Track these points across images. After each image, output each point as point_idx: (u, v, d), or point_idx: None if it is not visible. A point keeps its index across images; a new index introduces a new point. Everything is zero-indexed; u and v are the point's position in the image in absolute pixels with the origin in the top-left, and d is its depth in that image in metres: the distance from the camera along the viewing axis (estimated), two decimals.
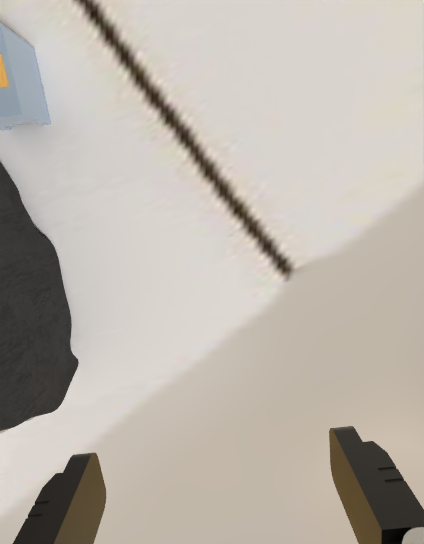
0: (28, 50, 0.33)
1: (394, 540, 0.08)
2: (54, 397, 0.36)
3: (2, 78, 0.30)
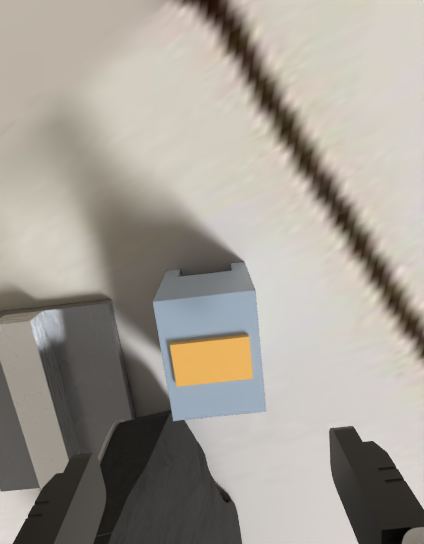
0: None
1: (394, 540, 0.08)
2: None
3: (246, 369, 0.18)
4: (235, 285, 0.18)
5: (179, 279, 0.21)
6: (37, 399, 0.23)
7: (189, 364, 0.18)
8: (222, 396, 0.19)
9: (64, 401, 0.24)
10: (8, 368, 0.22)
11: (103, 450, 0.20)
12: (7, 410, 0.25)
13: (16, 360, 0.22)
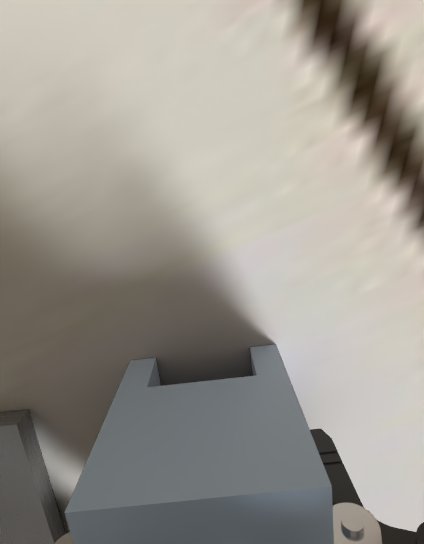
0: None
1: None
2: None
3: None
4: (272, 447, 0.08)
5: (148, 399, 0.10)
6: None
7: None
8: None
9: None
10: None
11: None
12: None
13: None
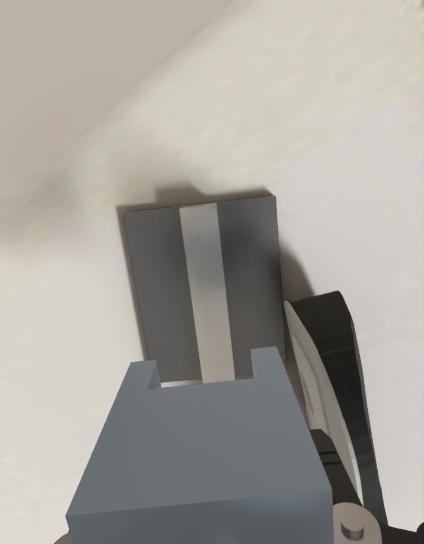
0: None
1: None
2: None
3: None
4: (272, 450, 0.08)
5: (149, 401, 0.10)
6: (211, 282, 0.25)
7: None
8: None
9: (225, 291, 0.27)
10: (189, 251, 0.24)
11: (295, 312, 0.22)
12: (170, 301, 0.27)
13: (198, 243, 0.24)
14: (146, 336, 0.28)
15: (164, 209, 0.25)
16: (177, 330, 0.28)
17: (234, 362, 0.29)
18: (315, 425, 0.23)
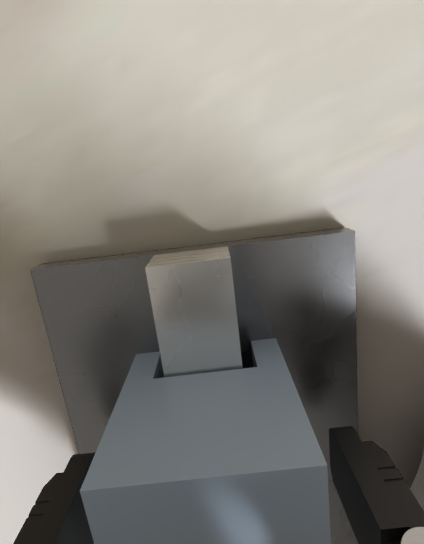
0: None
1: (393, 540, 0.08)
2: None
3: None
4: (272, 431, 0.08)
5: (154, 389, 0.10)
6: None
7: None
8: None
9: None
10: (171, 356, 0.11)
11: None
12: None
13: (190, 340, 0.11)
14: None
15: (118, 260, 0.12)
16: None
17: None
18: None
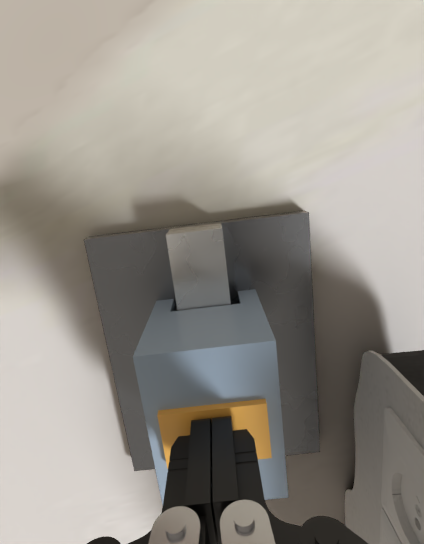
0: None
1: None
2: None
3: (263, 445, 0.13)
4: (246, 329, 0.14)
5: (171, 316, 0.16)
6: None
7: None
8: None
9: None
10: (182, 296, 0.16)
11: (406, 380, 0.14)
12: None
13: (195, 285, 0.16)
14: (123, 409, 0.20)
15: (145, 233, 0.17)
16: None
17: None
18: None
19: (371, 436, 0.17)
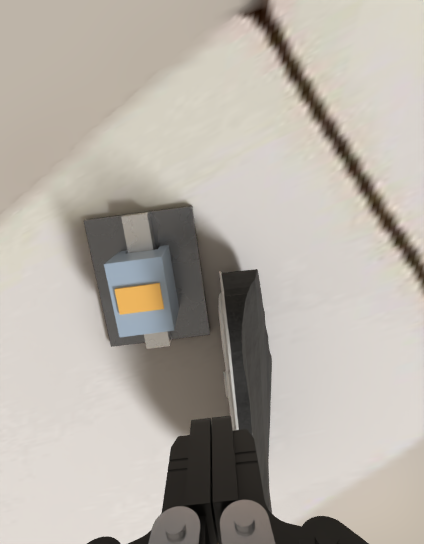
0: (168, 254, 0.35)
1: None
2: None
3: (159, 303, 0.32)
4: (153, 255, 0.32)
5: (124, 254, 0.34)
6: None
7: (126, 301, 0.31)
8: (147, 321, 0.32)
9: None
10: (130, 246, 0.35)
11: (221, 276, 0.32)
12: None
13: (136, 240, 0.34)
14: (104, 310, 0.38)
15: (113, 217, 0.36)
16: None
17: None
18: None
19: None
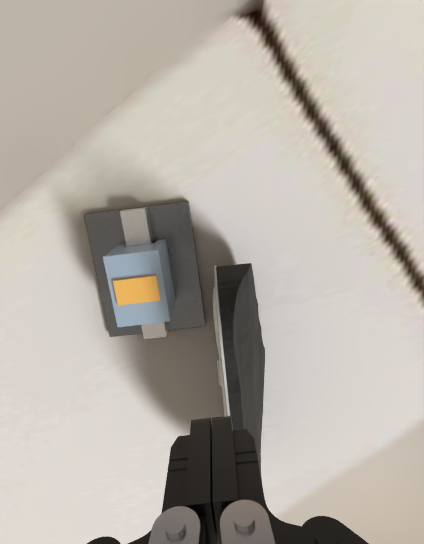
0: (165, 248, 0.36)
1: None
2: None
3: (156, 294, 0.33)
4: (150, 248, 0.33)
5: (123, 248, 0.35)
6: None
7: (124, 292, 0.33)
8: (144, 312, 0.34)
9: None
10: (128, 239, 0.36)
11: (216, 269, 0.33)
12: None
13: (134, 234, 0.36)
14: (103, 301, 0.39)
15: (112, 211, 0.37)
16: None
17: None
18: None
19: None
